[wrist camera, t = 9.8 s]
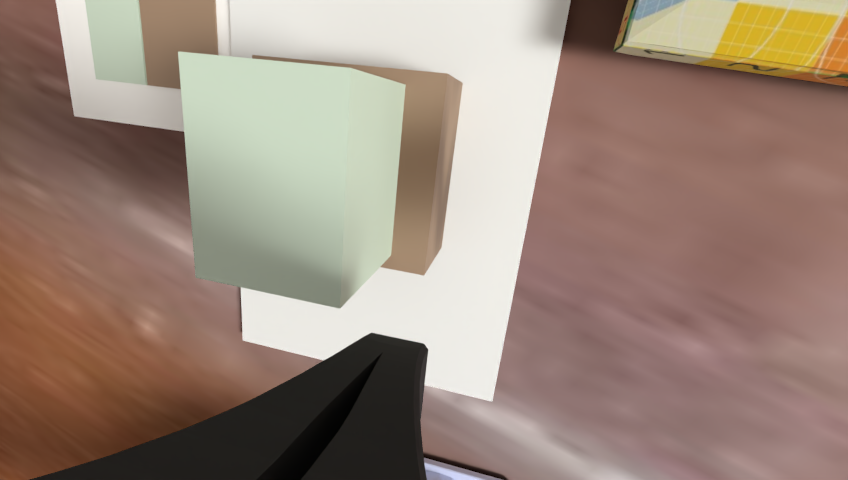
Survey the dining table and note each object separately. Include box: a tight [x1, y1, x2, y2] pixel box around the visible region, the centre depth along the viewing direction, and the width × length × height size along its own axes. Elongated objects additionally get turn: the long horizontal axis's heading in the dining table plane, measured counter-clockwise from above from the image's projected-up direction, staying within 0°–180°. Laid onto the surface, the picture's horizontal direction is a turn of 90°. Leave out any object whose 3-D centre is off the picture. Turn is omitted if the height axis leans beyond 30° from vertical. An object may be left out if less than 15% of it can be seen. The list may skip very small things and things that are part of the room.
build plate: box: [229, 0, 571, 401], centre depth 19 cm, size 18×14×1 cm
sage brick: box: [178, 52, 406, 309], centre depth 12 cm, size 6×4×4 cm
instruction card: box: [56, 0, 232, 132], centre depth 19 cm, size 8×10×1 cm
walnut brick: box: [252, 55, 463, 275], centre depth 16 cm, size 7×7×4 cm
